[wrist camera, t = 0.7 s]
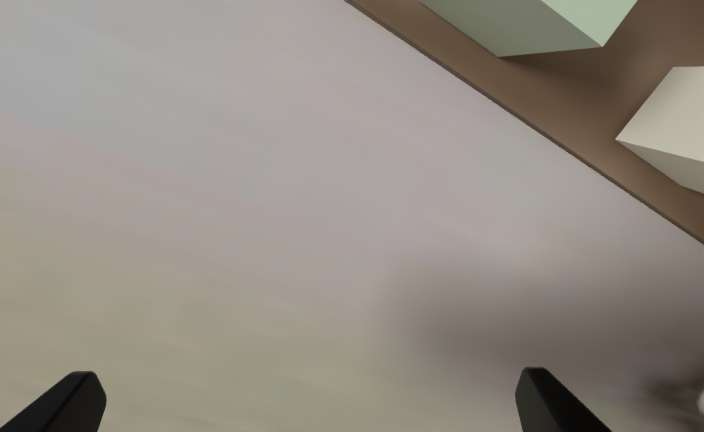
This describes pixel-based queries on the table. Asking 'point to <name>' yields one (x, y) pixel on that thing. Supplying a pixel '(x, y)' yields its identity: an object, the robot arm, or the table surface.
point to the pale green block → (533, 23)
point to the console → (577, 87)
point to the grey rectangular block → (672, 128)
